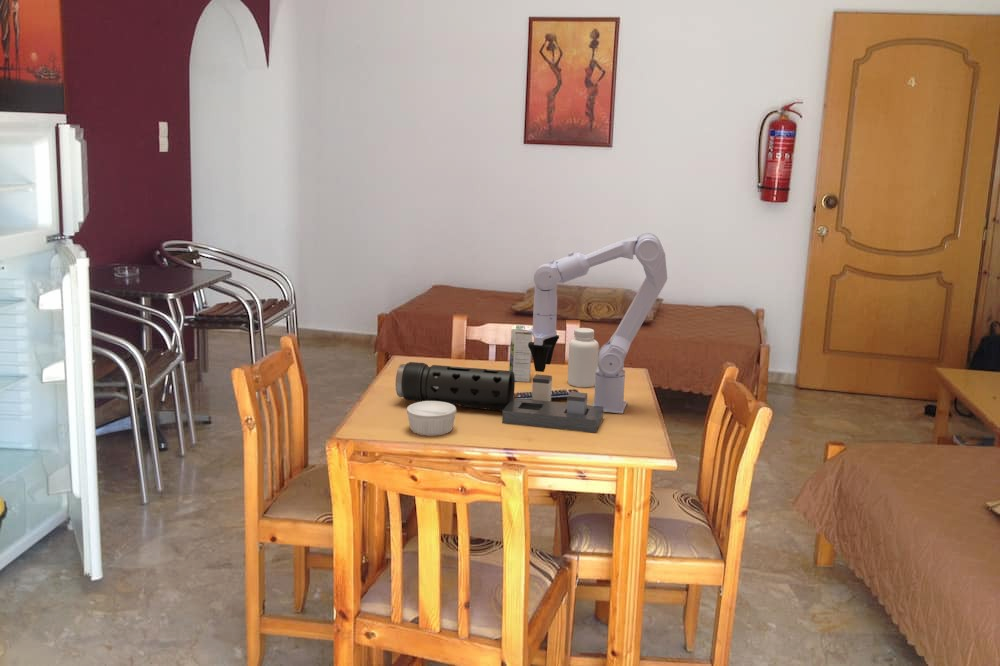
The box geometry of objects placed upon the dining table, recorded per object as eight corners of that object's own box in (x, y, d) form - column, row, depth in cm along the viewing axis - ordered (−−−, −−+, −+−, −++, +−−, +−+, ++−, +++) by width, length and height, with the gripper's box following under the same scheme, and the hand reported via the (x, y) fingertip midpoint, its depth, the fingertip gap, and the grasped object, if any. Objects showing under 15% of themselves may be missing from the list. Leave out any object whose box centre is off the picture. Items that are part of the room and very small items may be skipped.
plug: (535, 401, 239) (536, 374, 237) (550, 402, 238) (551, 375, 236) (531, 405, 235) (532, 378, 233) (547, 407, 234) (548, 379, 232)
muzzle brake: (506, 417, 225) (508, 375, 223) (394, 407, 231) (394, 366, 229) (514, 406, 235) (515, 365, 232) (405, 396, 240) (406, 357, 238)
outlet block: (513, 409, 231) (513, 397, 230) (603, 418, 226) (603, 406, 225) (502, 422, 221) (502, 410, 220) (595, 432, 215) (596, 420, 215)
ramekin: (411, 439, 208) (411, 416, 207) (402, 424, 218) (402, 402, 217) (461, 436, 211) (461, 413, 210) (449, 421, 221) (450, 399, 220)
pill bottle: (564, 386, 253) (566, 331, 250) (571, 378, 260) (573, 325, 257) (593, 389, 251) (596, 334, 247) (599, 381, 258) (602, 328, 255)
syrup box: (509, 376, 262) (510, 324, 258) (530, 376, 261) (532, 325, 258) (508, 381, 256) (510, 329, 253) (530, 382, 256) (532, 329, 253)
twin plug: (569, 420, 224) (570, 391, 223) (586, 421, 223) (587, 393, 222) (566, 425, 220) (567, 396, 219) (583, 426, 220) (584, 397, 218)
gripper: (535, 307, 239) (533, 359, 242) (522, 318, 225) (520, 373, 228) (562, 309, 237) (560, 361, 240) (551, 320, 224) (549, 375, 227)
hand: (542, 367), depth 234 cm, fingers open, 7 cm apart
